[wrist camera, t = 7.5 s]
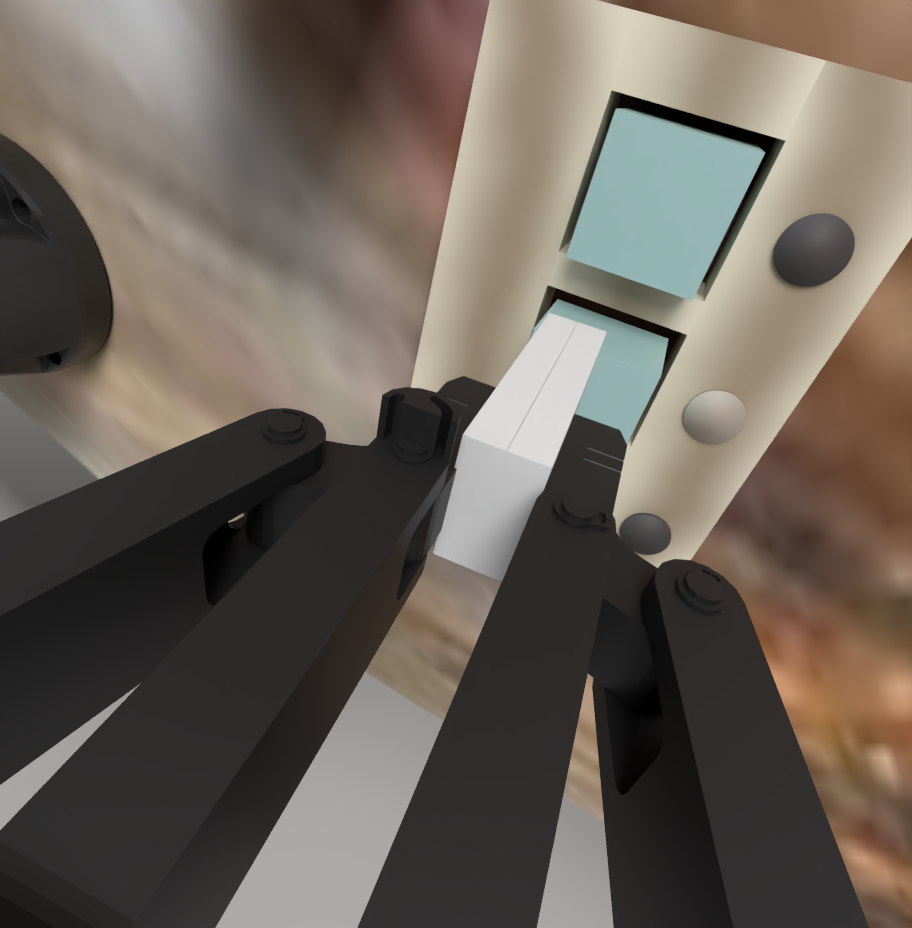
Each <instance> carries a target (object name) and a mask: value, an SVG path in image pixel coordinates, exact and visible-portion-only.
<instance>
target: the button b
mask: <svg viewBox="0 0 912 928" xmlns="http://www.w3.org/2000/svg"><path fill="white" fill-rule="evenodd" d="M549 313H551V314H554V315H557V316H561V317H564V318H567V319H570V320H573V321H576V322H579V323H582V324H585V325H588V326H591V327H594V328H597V329H600V330H603V331H606V332H607V333H606V336H605V338H604V341H603V344H602V346H601V349H600V351H599V354H598V357H597V359H596V362H595V365H594V367H593V370H592V372H591V375H590V378H589V380H588V383H587V385H586V388H585V391H584V393H583V396H582V399H581V401H580V404H579V406H578V409H577V412H576V414H577V415H580V416H582V417H585V418H588V419H591V420H594V421H596V422H599V423H602V424H605V425H608V426H610V427H613V428H616V429H619V430H620V431H621V433H622V435H623V437H624V439H625V442H626V444H627V443H628V441H629V439H630V437H631V435H632V433H633V431H634V429H635V427H636V425H637V423H638V421H639V419H640V417H641V415H642V413H643V411H644V409H645V407H646V405H647V403H648V401H649V399H650V397H651V395H652V393H653V391H654V389H655V387H656V385H657V383H658V381H659V379H660V377H661V375H662V370H663V365H664V359H665V354H666V349H667V344H668V338H665V337H662V336H659V335H657V334H654V333H651V332H648V331H646V330H643V329H640V328H637V327H634V326H632V325H629V324H626V323H623V322H621V321H618V320H615V319H612V318H609V317H607V316H604V315H601V314H598V313H596V312H593V311H590V310H587V309H584V308H582V307H579V306H576V305H573V304H571V303H568V302H565V301H562V300H559V299H557V301H556V302H555V303H554V304H553V305H552V307H551V308H550V309H549V310H548V312H547V313H546V314H545V315H544V317H543V318H542V319H541V320H540V322H539V323H538V324H537V325H536V327H535V328H534V330H533V333H532V336H531V338H532V337H533V335H534V334H535V332H536V331H537V330H538V328H539V327H540V325H541V324H542V323H543V321H544V320H545V318H546V317H547V316H548V314H549Z"/></svg>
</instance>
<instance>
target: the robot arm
mask: <svg viewBox="0 0 912 928" xmlns="http://www.w3.org/2000/svg"><path fill="white" fill-rule="evenodd" d="M110 320H111V300H110V292H109V286H108V282H107V277H106V273H105V270H104V266H103V263H102V260H101V258H100V255H99V252H98V250H97V247H96V245H95V243H94V240H93V238H92V236H91V234H90V232H89V230H88V228H87V226H86V224H85V223H84V221H83V219H82V217H81V216H80V214H79V212H78V211H77V209H76V207H75V206H74V204H73V203H72V201H71V200H70V198H69V197H68V196H67V194H66V193H65V191H64V190H63V189H62V188H61V186H60V185H59V184H58V183H57V181H56V180H55V179H54V178H53V177H52V176H51V174H50V173H49V172H48V171H47V170H46V169H45V168H44V167H43V166H42V165H41V164H40V163H39V162H38V161H37V160H36V159H35V158H34V157H33V156H31V155H30V154H29V153H28V152H27V151H25V150H24V149H23V148H22V147H20V146H19V145H18V144H16V143H15V142H13V141H12V140H10V139H8V138H7V137H5V136H3V135H1V134H0V376H3V375H19V374H34V373H48V372H54V371H58V370H61V369H64V368H67V367H69V366H72V365H74V364H77V363H79V362H82V361H84V360H86V359H89V358H90V357H92V356H94V355H95V354H96V353H97V352H98V351H99V350H100V349H101V347H102V346H103V344H104V342H105V340H106V338H107V335H108V331H109V327H110ZM606 333H607V332H606V331H603V330H600V329H597V328H594V327H591V326H588V325H585V324H582V323H579V322H576V321H573V320H570V319H567V318H564V317H561V316H557V315H554V314H551V313H549V314H548V316H547V317H546V318H545V320H544V321H543V323H542V324H541V325H540V327H539V328H538V330H537V331H536V332H535V334H534V335H533V337H532V338H531V339H530V341H529V342H528V344H527V345H526V346H525V348H524V349H523V351H522V352H521V353H520V355H519V356H518V358H517V359H516V360H515V362H514V363H513V365H512V366H511V367H510V369H509V370H508V372H507V373H506V375H505V376H504V377H503V379H502V380H501V382H500V383H499V384H498V386H497V387H493V386H490V385H488V384H485V383H482V382H479V381H476V380H474V379H471V378H468V377H465V376H462V377H459V378H456V379H453V380H451V381H448V382H446V383H445V384H444V385H443V386H442V387H441V389H440V390H439V391H438V392H437V393H436V392H433V391H429V390H425V389H422V388H407V387H405V388H399V389H393V390H391V391H389V392H387V393H385V394H383V395H382V402H381V409H380V416H379V423H378V430H377V437H376V438H375V439H374V440H373V441H372V442H371V443H370V444H369V445H368V446H357V445H348V444H342V443H336V442H330V441H325V439H326V431H325V429H324V426H323V424H322V423H321V422H320V421H319V420H318V419H317V418H315V417H314V416H312V415H310V414H307V413H305V412H303V411H299V410H293V409H287V408H283V409H268V410H265V411H261V412H257V413H255V414H252V415H250V416H248V417H245V418H243V419H241V420H238V421H236V422H234V423H231V424H229V425H226V426H224V427H222V428H219V429H217V430H215V431H212V432H210V433H208V434H205V435H203V436H201V437H198V438H196V439H194V440H191V441H189V442H187V443H184V444H182V445H180V446H177V447H175V448H172V449H170V450H168V451H165V452H163V453H161V454H158V455H156V456H154V457H151V458H149V459H147V460H144V461H142V462H140V463H137V464H135V465H133V466H130V467H128V468H125V469H123V470H121V471H118V472H116V473H114V474H111V475H109V476H107V477H104V478H102V479H100V480H97V481H95V482H93V483H90V484H88V485H86V486H83V487H81V488H79V489H76V490H74V491H71V492H69V493H67V494H64V495H62V496H60V497H57V498H55V499H53V500H50V501H49V502H46V503H44V504H41V505H39V506H36V507H34V508H32V509H29V510H27V511H24V512H22V513H20V514H17V515H15V516H13V517H11V518H8V519H6V520H3V521H1V522H0V784H2V783H3V782H5V781H6V780H7V779H9V778H10V777H12V776H13V775H14V774H16V773H17V772H19V771H20V770H21V769H23V768H24V767H25V766H27V765H28V764H29V763H31V762H32V761H34V760H35V759H36V758H38V757H39V756H40V755H42V754H43V753H45V752H46V751H48V750H49V749H50V748H52V747H53V746H54V745H56V744H57V743H59V742H60V741H61V740H62V739H64V738H65V737H67V736H68V735H70V734H71V733H72V732H74V731H75V730H77V729H78V728H79V727H80V726H82V725H83V724H85V723H86V722H88V721H89V720H90V719H92V718H93V717H95V716H96V715H97V714H99V713H100V712H101V711H103V710H104V709H106V708H107V707H108V706H110V705H111V704H112V703H114V702H115V701H117V700H118V699H119V698H121V697H122V696H124V695H125V694H126V693H127V692H129V691H130V690H132V689H133V688H134V687H136V686H137V685H139V684H140V683H141V682H142V683H141V684H140V685H139V686H138V687H137V688H136V689H135V690H134V691H133V692H132V693H131V694H130V695H129V696H128V697H127V699H126V700H125V701H124V702H123V703H122V704H121V705H120V706H119V707H118V708H117V709H116V710H115V711H114V712H113V713H112V714H111V715H110V717H109V718H108V719H107V720H105V722H104V723H103V724H102V725H101V726H100V727H99V728H98V729H97V730H96V731H95V732H94V733H93V734H92V735H91V736H90V737H89V738H88V739H87V740H86V742H85V743H84V744H83V745H82V746H81V747H80V748H79V749H78V750H77V751H76V752H75V753H74V754H73V755H72V756H71V757H70V758H69V759H68V760H67V761H66V762H65V764H63V765H62V767H61V768H60V769H59V770H58V771H57V772H56V773H55V774H54V775H53V776H52V777H51V778H50V779H49V780H48V781H47V782H46V783H45V784H44V785H43V787H42V788H40V790H39V791H38V792H37V793H36V794H35V795H34V796H33V797H32V798H31V799H30V800H29V801H28V802H27V803H26V804H25V805H24V806H23V807H22V808H21V809H20V810H19V812H18V813H17V814H16V815H15V816H14V817H13V818H12V819H11V820H10V821H9V822H8V823H7V824H6V825H5V826H4V827H3V828H2V829H1V830H0V928H215V927H216V925H217V924H218V922H219V920H220V919H221V917H222V915H223V913H224V912H225V910H226V908H227V907H228V905H229V903H230V901H231V899H232V898H233V896H234V895H235V893H236V891H237V890H238V888H239V886H240V884H241V883H242V881H243V879H244V878H245V876H246V874H247V872H248V871H249V869H250V867H251V866H252V864H253V862H254V860H255V859H256V857H257V855H258V854H259V852H260V850H261V848H262V847H263V845H264V843H265V842H266V840H267V838H268V836H269V835H270V833H271V831H272V830H273V828H274V826H275V824H276V822H277V821H278V819H279V818H280V816H281V814H282V812H283V811H284V809H285V807H286V806H287V804H288V802H289V800H290V799H291V797H292V795H293V794H294V792H295V790H296V788H297V787H298V785H299V783H300V782H301V780H302V778H303V776H304V775H305V773H306V771H307V770H308V768H309V766H310V764H311V763H312V761H313V759H314V758H315V756H316V754H317V752H318V751H319V749H320V747H321V746H322V744H323V742H324V741H325V739H326V737H327V735H328V734H329V732H330V730H331V728H332V727H333V725H334V723H335V722H336V720H337V718H338V717H339V714H340V713H341V711H342V709H343V708H344V706H345V704H346V703H347V701H348V699H349V698H350V696H351V694H352V693H353V691H354V689H355V687H356V686H357V684H358V682H359V680H360V679H361V677H362V675H363V674H364V672H365V670H366V669H367V667H368V665H369V663H370V662H371V660H372V658H373V657H374V655H375V653H376V651H377V650H378V648H379V646H380V645H381V643H382V641H383V639H384V638H385V636H386V634H387V633H388V631H389V629H390V628H391V626H392V624H393V622H394V621H395V619H396V617H397V616H398V614H399V612H400V610H401V609H402V607H403V605H404V604H405V602H406V600H407V598H408V597H409V595H410V593H411V592H412V590H413V588H414V586H415V585H416V583H417V581H418V580H419V578H420V576H421V574H422V572H423V569H424V565H425V561H426V557H427V553H428V551H429V550H430V548H431V546H432V545H433V543H434V541H435V540H436V538H437V540H436V544H435V548H434V552H433V554H435V555H438V556H440V557H443V558H445V559H447V560H450V561H452V562H454V563H457V564H459V565H462V566H464V567H466V568H469V569H471V570H474V571H476V572H478V573H481V574H483V575H486V576H488V577H490V578H493V579H495V580H498V581H500V582H502V583H501V585H500V588H499V590H498V592H497V595H496V597H495V600H494V602H493V604H492V607H491V609H490V612H489V614H488V616H487V619H486V621H485V624H484V626H483V628H482V631H481V633H480V635H479V638H478V640H477V643H476V645H475V647H474V650H473V652H472V655H471V657H470V659H469V662H468V664H467V667H466V669H465V671H464V674H463V676H462V679H461V681H460V683H459V686H458V688H457V691H456V693H455V695H454V698H453V700H452V703H451V705H450V707H449V710H448V712H447V715H446V717H445V719H444V722H443V724H442V727H441V729H440V732H439V734H438V736H437V739H436V741H435V743H434V746H433V748H432V751H431V753H430V755H429V758H428V760H427V763H426V765H425V767H424V770H423V772H422V775H421V777H420V780H419V782H418V784H417V787H416V789H415V791H414V794H413V796H412V799H411V801H410V803H409V806H408V809H407V811H406V813H405V815H404V818H403V820H402V823H401V825H400V827H399V830H398V832H397V835H396V837H395V839H394V842H393V844H392V847H391V849H390V851H389V854H388V856H387V858H386V861H385V863H384V866H383V868H382V870H381V873H380V875H379V878H378V880H377V883H376V885H375V887H374V890H373V892H372V895H371V897H370V899H369V902H368V904H367V906H366V909H365V911H364V914H363V916H362V918H361V921H360V923H359V926H358V928H537V923H538V918H539V912H540V908H541V903H542V898H543V893H544V888H545V883H546V878H547V872H548V868H549V863H550V858H551V853H552V848H553V843H554V838H555V833H556V828H557V823H558V818H559V812H560V808H561V803H562V798H563V793H564V788H565V783H566V778H567V773H568V768H569V763H570V758H571V753H572V748H573V743H574V738H575V733H576V728H577V723H578V718H579V713H580V709H581V704H582V699H583V694H584V689H585V684H586V679H587V674H590V675H591V676H592V677H593V686H592V688H593V700H594V711H595V722H596V733H597V744H598V756H599V767H600V778H601V789H602V801H603V812H604V823H605V834H606V845H607V856H608V867H609V879H610V889H611V901H612V913H613V924H614V928H869V927H868V924H867V921H866V919H865V916H864V914H863V911H862V908H861V906H860V903H859V901H858V898H857V895H856V893H855V890H854V887H853V885H852V882H851V880H850V877H849V874H848V872H847V869H846V867H845V864H844V861H843V859H842V856H841V854H840V851H839V848H838V846H837V843H836V841H835V838H834V835H833V833H832V830H831V827H830V825H829V822H828V820H827V817H826V814H825V812H824V809H823V807H822V804H821V801H820V799H819V796H818V794H817V791H816V788H815V786H814V783H813V780H812V778H811V775H810V773H809V770H808V767H807V765H806V762H805V760H804V757H803V754H802V752H801V749H800V747H799V744H798V741H797V739H796V736H795V733H794V731H793V728H792V726H791V723H790V720H789V718H788V715H787V713H786V710H785V707H784V705H783V702H782V700H781V697H780V694H779V692H778V689H777V686H776V684H775V681H774V679H773V676H772V673H771V671H770V668H769V666H768V663H767V660H766V658H765V655H764V653H763V650H762V647H761V645H760V642H759V640H758V637H757V634H756V632H755V629H754V626H753V624H752V621H751V619H750V616H749V613H748V611H747V608H746V606H745V603H744V601H743V600H742V598H741V596H740V595H739V593H738V591H737V590H736V589H735V588H734V587H733V586H732V585H731V584H730V583H729V582H728V581H727V580H726V579H725V578H724V577H723V576H722V575H720V574H718V573H717V572H715V571H714V570H712V569H710V568H709V567H707V566H705V565H702V564H699V563H696V562H694V561H691V560H683V559H672V560H669V561H665V562H662V564H661V565H660V566H659V567H658V568H657V567H655V566H654V565H652V564H651V563H649V562H648V561H646V560H644V559H643V558H641V557H640V556H639V555H637V554H636V553H635V552H633V551H632V550H631V549H630V548H629V547H628V546H627V545H626V544H625V543H624V542H623V541H622V540H621V539H620V537H619V536H618V534H617V532H616V521H615V518H614V516H613V511H614V506H615V501H616V496H617V492H618V487H619V482H620V477H621V472H622V468H623V463H624V462H623V461H624V459H625V454H626V449H627V444H626V442H625V439H624V437H623V435H622V433H621V431H620V430H619V429H616V428H613V427H610V426H608V425H605V424H602V423H599V422H596V421H594V420H591V419H588V418H585V417H582V416H580V415H577V414H576V412H577V409H578V406H579V404H580V401H581V399H582V396H583V393H584V391H585V388H586V385H587V383H588V380H589V378H590V375H591V372H592V370H593V367H594V365H595V362H596V359H597V357H598V354H599V351H600V349H601V346H602V344H603V341H604V338H605V336H606ZM242 513H244V516H243V517H241V518H239V519H238V520H236V521H233V522H230V523H228V521H230V520H232V519H233V518H235V517H237V516H239V515H240V514H242Z"/></svg>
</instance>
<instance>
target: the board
mask: <svg viewBox="0 0 912 928" xmlns="http://www.w3.org/2000/svg"><path fill="white" fill-rule="evenodd" d="M622 93H623V94H626V95H630V96H633V97H637V98H640V99H643V100H647V101H650V102H654V103H657V104H661V105H664V106H668V107H671V108H675V109H678V110H681V111H685V112H688V113H692V114H695V115H699V116H702V117H706V118H709V119H712V120H716V121H719V122H723V123H726V124H730V125H733V126H737V127H740V128H744V129H747V130H750V131H754V132H757V133H761V134H764V135H768V136H771V137H775V138H777V139H776V141H775V143H774V145H773V147H772V149H771V151H770V153H769V155H768V157H767V159H766V161H765V163H764V165H763V167H762V169H761V171H760V173H759V175H758V177H757V179H756V181H755V183H754V185H753V187H752V189H751V191H750V193H749V195H748V197H747V199H746V201H745V203H744V205H743V208H742V210H741V212H740V214H739V216H738V218H737V220H736V222H735V224H734V226H733V228H732V230H731V232H730V234H729V236H728V238H727V240H726V242H725V244H724V246H723V248H722V250H721V252H720V254H719V256H718V258H717V260H716V262H715V264H714V266H713V268H712V270H711V272H710V274H709V276H708V278H707V280H706V282H705V283H704V282H701V284H700V286H699V288H698V290H697V292H696V294H695V296H694V298H693V300H692V301H691V300H688V299H685V298H682V297H679V296H677V295H674V294H671V293H668V292H665V291H662V290H659V289H656V288H653V287H651V286H648V285H645V284H642V283H639V282H636V281H633V280H630V279H627V278H625V277H622V276H619V275H616V274H613V273H610V272H607V271H604V270H601V269H599V268H596V267H593V266H590V265H587V264H584V263H581V262H578V261H575V260H573V259H570V258H567V257H566V254H567V251H568V248H569V245H570V242H571V240H572V237H573V234H574V231H575V228H576V225H577V222H578V219H579V216H580V213H581V210H582V207H583V204H584V201H585V198H586V195H587V192H588V189H589V186H590V183H591V180H592V177H593V174H594V172H595V169H596V166H597V163H598V160H599V157H600V154H601V151H602V148H603V145H604V142H605V139H606V136H607V133H608V130H609V127H610V124H611V121H612V118H613V115H614V112H615V109H617V107H618V104H619V101H620V98H621V95H622ZM911 237H912V83H909V82H905V81H901V80H898V79H894V78H890V77H886V76H882V75H879V74H875V73H871V72H867V71H863V70H860V69H856V68H852V67H848V66H844V65H841V64H837V63H833V62H829V61H825V60H822V59H818V58H814V57H810V56H806V55H803V54H799V53H795V52H791V51H788V50H784V49H780V48H776V47H772V46H769V45H765V44H761V43H757V42H753V41H750V40H746V39H742V38H738V37H734V36H731V35H727V34H723V33H719V32H715V31H712V30H708V29H704V28H700V27H696V26H693V25H689V24H685V23H681V22H677V21H674V20H670V19H666V18H662V17H658V16H655V15H651V14H647V13H643V12H639V11H636V10H632V9H628V8H624V7H620V6H617V5H613V4H609V3H605V2H601V1H598V0H490V2H489V7H488V12H487V17H486V22H485V27H484V32H483V37H482V41H481V46H480V51H479V56H478V61H477V66H476V71H475V76H474V81H473V85H472V90H471V95H470V100H469V105H468V110H467V115H466V120H465V125H464V129H463V134H462V139H461V144H460V149H459V154H458V159H457V164H456V169H455V173H454V178H453V183H452V188H451V193H450V198H449V203H448V208H447V213H446V217H445V222H444V227H443V232H442V237H441V242H440V247H439V252H438V257H437V261H436V266H435V271H434V276H433V281H432V286H431V291H430V296H429V301H428V305H427V310H426V315H425V320H424V325H423V330H422V335H421V340H420V345H419V349H418V354H417V359H416V364H415V369H414V374H413V379H412V384H411V388H422V389H425V390H429V391H433V392H436V393H437V392H438V391H439V390H440V389H441V387H442V386H443V385H444V384H445V383H446V382H448V381H451V380H453V379H456V378H459V377H462V376H465V377H468V378H471V379H474V380H476V381H479V382H482V383H485V384H488V385H490V386H493V387H497V386H498V384H499V383H500V382H501V380H502V379H503V377H504V376H505V375H506V373H507V372H508V370H509V369H510V367H511V366H512V365H513V363H514V362H515V360H516V359H517V358H518V356H519V355H520V353H521V352H522V351H523V349H524V348H525V346H526V345H527V344H528V342H529V341H530V339H531V336H532V333H533V330H534V328H535V327H536V325H537V324H538V323H539V322H540V320H541V319H542V318H543V317H544V315H545V314H546V313H547V312H548V310H549V307H550V304H551V301H552V298H553V295H554V292H555V289H556V288H557V289H560V290H563V291H566V292H569V293H571V294H574V295H577V296H580V297H583V298H585V299H588V300H591V301H594V302H597V303H599V304H602V305H605V306H608V307H611V308H613V309H616V310H619V311H622V312H625V313H627V314H630V315H633V316H636V317H639V318H641V319H644V320H647V321H650V322H653V323H655V324H658V325H661V326H664V327H667V328H669V329H672V330H675V331H678V332H680V334H679V336H678V338H677V340H676V342H675V344H674V346H673V348H672V350H671V352H670V354H669V356H668V358H667V360H666V362H665V364H664V366H663V370H662V375H661V377H660V379H659V381H658V383H657V385H656V387H655V389H654V391H653V393H652V395H651V397H650V399H649V401H648V403H647V405H646V407H645V409H644V411H643V413H642V415H641V417H640V419H639V421H638V423H637V425H636V427H635V429H634V431H633V433H632V435H631V437H630V439H629V441H628V443H627V449H626V454H625V459H624V461H623V462H624V463H623V468H622V472H621V477H620V482H619V487H618V492H617V496H616V501H615V506H614V511H613V516H614V518H615V521H616V532H617V534H618V536H619V537H620V539H621V540H622V541H623V542H624V543H625V544H626V545H627V546H628V547H629V548H630V549H631V550H632V551H633V552H635V553H636V554H637V555H639V556H640V557H641V558H643V559H644V560H646V561H648V562H649V563H651V564H652V565H654V566H655V567H657V568H658V567H659V566H660V565H661V564H662V562H665V561H669V560H672V559H683V560H691V559H692V557H693V556H694V554H695V553H696V551H697V550H698V548H699V547H700V546H701V544H702V543H703V541H704V540H705V538H706V537H707V535H708V534H709V532H710V531H711V529H712V528H713V527H714V525H715V524H716V522H717V521H718V519H719V518H720V516H721V515H722V513H723V512H724V510H725V509H726V508H727V506H728V505H729V503H730V502H731V500H732V499H733V497H734V496H735V494H736V493H737V491H738V490H739V489H740V487H741V486H742V484H743V483H744V481H745V480H746V478H747V477H748V475H749V474H750V473H751V471H752V470H753V468H754V467H755V465H756V464H757V462H758V461H759V459H760V458H761V456H762V455H763V454H764V452H765V451H766V449H767V448H768V446H769V445H770V443H771V442H772V440H773V439H774V437H775V436H776V435H777V433H778V432H779V430H780V429H781V427H782V426H783V424H784V423H785V421H786V420H787V418H788V417H789V416H790V414H791V413H792V411H793V410H794V408H795V407H796V405H797V404H798V402H799V401H800V399H801V398H802V397H803V395H804V394H805V392H806V391H807V389H808V388H809V386H810V385H811V383H812V382H813V381H814V379H815V378H816V376H817V375H818V373H819V372H820V370H821V369H822V367H823V366H824V364H825V363H826V362H827V360H828V359H829V357H830V356H831V354H832V353H833V351H834V350H835V348H836V347H837V345H838V344H839V343H840V341H841V340H842V338H843V337H844V335H845V334H846V332H847V331H848V329H849V328H850V326H851V325H852V324H853V322H854V321H855V319H856V318H857V316H858V315H859V313H860V312H861V310H862V309H863V307H864V306H865V305H866V303H867V302H868V300H869V299H870V297H871V296H872V294H873V293H874V291H875V290H876V289H877V287H878V286H879V284H880V283H881V281H882V280H883V278H884V277H885V275H886V274H887V272H888V271H889V270H890V268H891V267H892V265H893V264H894V262H895V261H896V259H897V258H898V256H899V255H900V253H901V252H902V251H903V249H904V248H905V246H906V245H907V243H908V242H909V240H910V239H911Z"/></svg>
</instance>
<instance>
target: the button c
mask: <svg viewBox="0 0 912 928" xmlns="http://www.w3.org/2000/svg"><path fill="white" fill-rule="evenodd" d="M764 154H765V152H764V151H763V150H762V149H761V148H760V147H758V146H757V145H754V144H751V143H747V142H744V141H740V140H737V139H734V138H730V137H727V136H723V135H720V134H717V133H713V132H710V131H706V130H703V129H699V128H696V127H693V126H689V125H686V124H682V123H679V122H676V121H672V120H669V119H665V118H662V117H659V116H655V115H652V114H648V113H645V112H642V111H638V110H635V109H631V108H619V109H615V112H614V115H613V118H612V121H611V124H610V127H609V130H608V133H607V136H606V139H605V142H604V145H603V148H602V151H601V154H600V157H599V160H598V163H597V166H596V169H595V172H594V174H593V177H592V180H591V183H590V186H589V189H588V192H587V195H586V198H585V201H584V204H583V207H582V210H581V213H580V216H579V219H578V222H577V225H576V228H575V231H574V234H573V237H572V240H571V242H570V245H569V248H568V251H567V254H566V257H567V258H570V259H573V260H575V261H578V262H581V263H584V264H587V265H590V266H593V267H596V268H599V269H601V270H604V271H607V272H610V273H613V274H616V275H619V276H622V277H625V278H627V279H630V280H633V281H636V282H639V283H642V284H645V285H648V286H651V287H653V288H656V289H659V290H662V291H665V292H668V293H671V294H674V295H677V296H679V297H682V298H685V299H688V300H691V301H692V300H693V298H694V296H695V294H696V292H697V290H698V288H699V286H700V284H701V282H702V280H703V278H704V276H705V274H706V272H707V270H708V268H709V266H710V264H711V262H712V260H713V258H714V256H715V254H716V252H717V250H718V248H719V246H720V244H721V242H722V240H723V238H724V236H725V233H726V231H727V229H728V227H729V225H730V223H731V221H732V219H733V217H734V215H735V213H736V211H737V209H738V207H739V205H740V203H741V201H742V199H743V197H744V195H745V193H746V191H747V189H748V187H749V185H750V183H751V181H752V179H753V177H754V175H755V173H756V171H757V169H758V167H759V165H760V162H761V160H762V158H763V156H764Z"/></svg>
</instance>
